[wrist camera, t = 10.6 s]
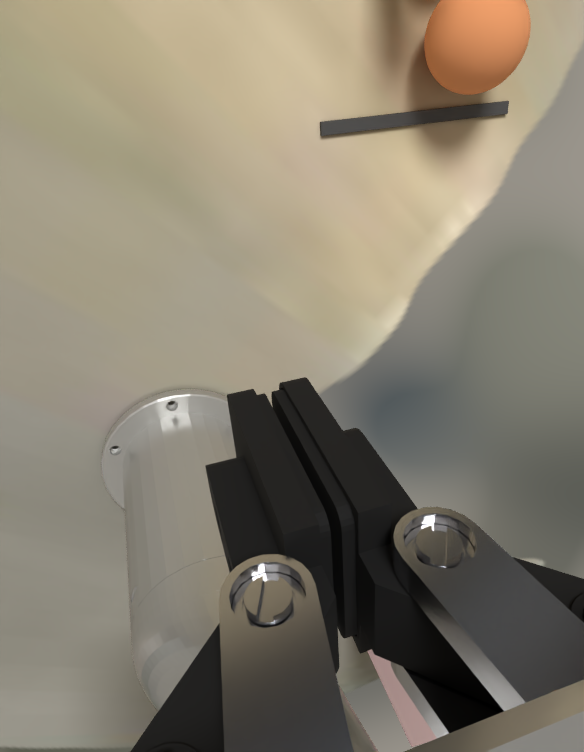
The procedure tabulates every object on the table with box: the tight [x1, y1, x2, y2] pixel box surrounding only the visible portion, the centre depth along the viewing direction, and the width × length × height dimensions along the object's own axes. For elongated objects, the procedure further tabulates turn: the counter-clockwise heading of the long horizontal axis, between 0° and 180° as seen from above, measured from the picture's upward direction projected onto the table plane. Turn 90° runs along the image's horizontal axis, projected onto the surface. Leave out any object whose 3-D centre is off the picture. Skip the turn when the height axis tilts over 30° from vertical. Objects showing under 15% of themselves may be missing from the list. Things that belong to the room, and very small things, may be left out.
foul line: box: [320, 101, 509, 136], centre depth 36 cm, size 1×14×1 cm, turn 95°
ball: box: [424, 0, 530, 95], centre depth 32 cm, size 6×6×6 cm
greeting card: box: [367, 649, 437, 747], centre depth 55 cm, size 11×7×15 cm, turn 49°
